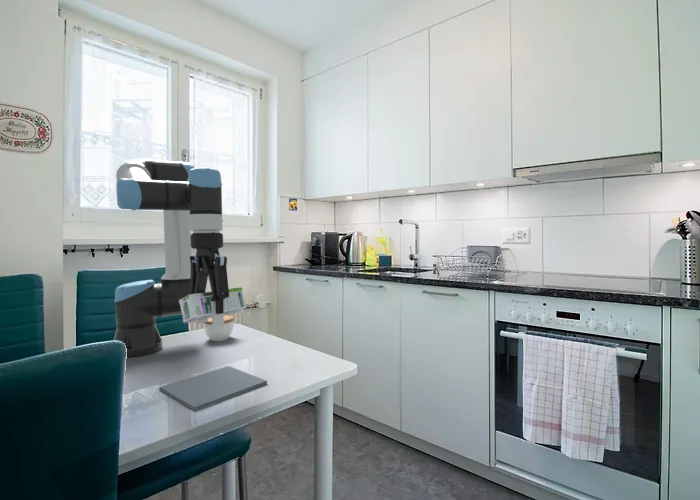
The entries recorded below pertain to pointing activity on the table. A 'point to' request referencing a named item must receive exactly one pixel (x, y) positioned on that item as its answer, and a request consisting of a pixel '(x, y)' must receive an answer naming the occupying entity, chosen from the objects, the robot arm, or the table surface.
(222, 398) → the mat
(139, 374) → the table surface
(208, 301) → the syrup box
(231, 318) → the lidded jar
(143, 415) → the table surface
